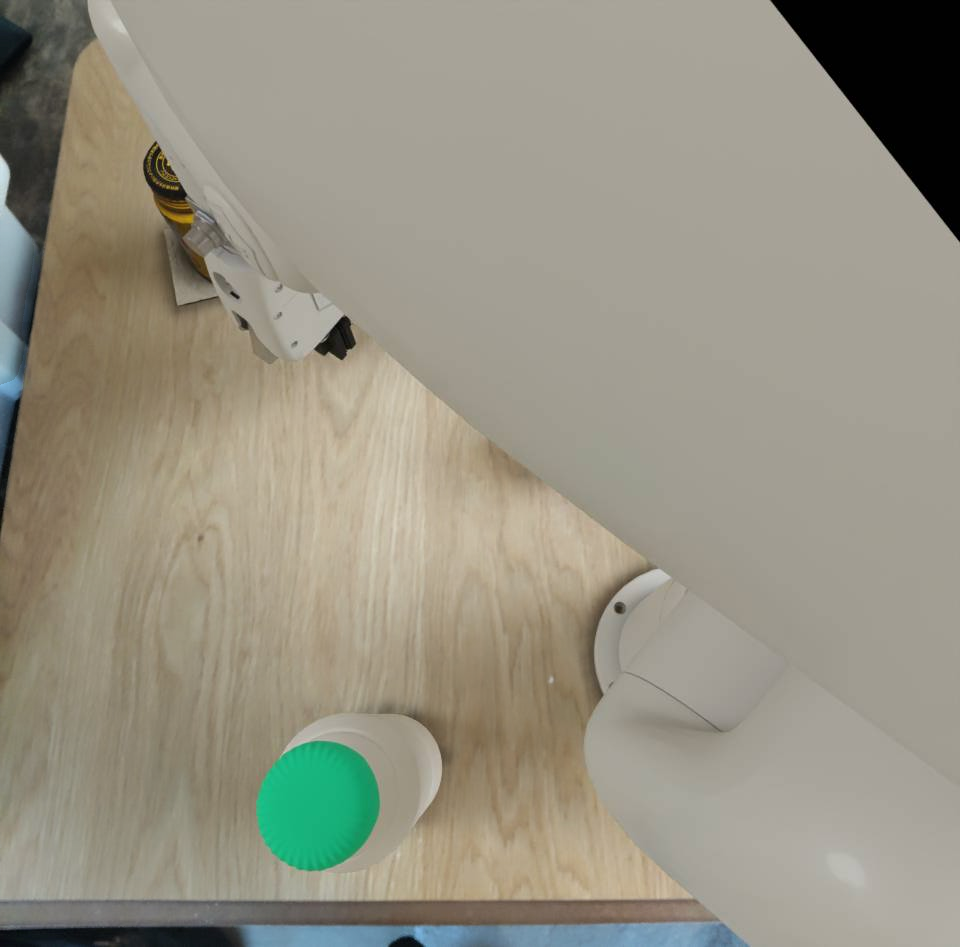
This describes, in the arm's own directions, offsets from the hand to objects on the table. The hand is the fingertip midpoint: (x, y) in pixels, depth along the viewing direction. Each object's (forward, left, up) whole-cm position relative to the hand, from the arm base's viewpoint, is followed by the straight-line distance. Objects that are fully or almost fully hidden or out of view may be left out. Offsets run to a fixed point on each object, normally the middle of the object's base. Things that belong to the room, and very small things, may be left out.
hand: (333, 341), depth 58 cm
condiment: (+15, -2, -6) cm, 16 cm away
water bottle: (-21, +21, -6) cm, 30 cm away
